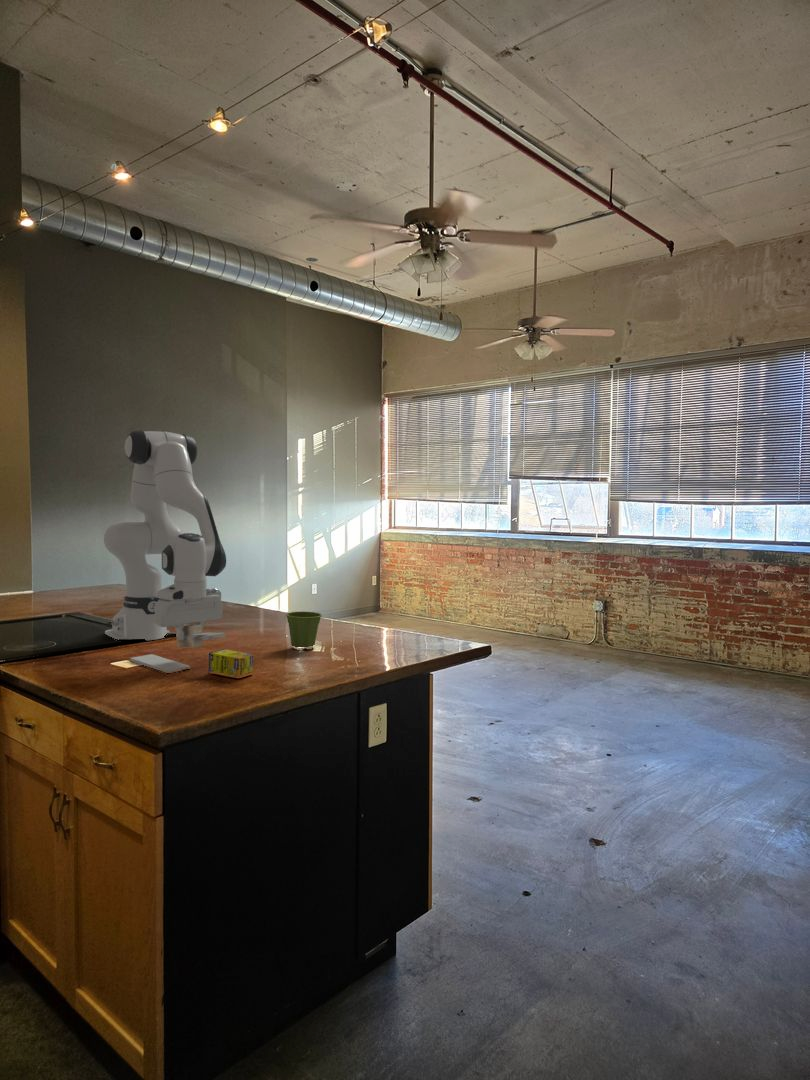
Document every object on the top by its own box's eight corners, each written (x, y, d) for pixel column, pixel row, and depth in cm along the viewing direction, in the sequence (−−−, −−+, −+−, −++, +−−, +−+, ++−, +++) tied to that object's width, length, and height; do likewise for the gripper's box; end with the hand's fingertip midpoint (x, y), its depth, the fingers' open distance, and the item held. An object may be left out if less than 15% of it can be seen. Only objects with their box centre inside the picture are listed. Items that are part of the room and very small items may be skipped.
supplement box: (208, 652, 188) (238, 658, 183) (223, 648, 193) (253, 653, 188) (207, 674, 188) (238, 680, 183) (223, 669, 194) (253, 675, 188)
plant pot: (318, 653, 217) (319, 617, 217) (281, 652, 218) (282, 616, 217) (324, 645, 229) (324, 611, 228) (288, 644, 229) (289, 610, 229)
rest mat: (129, 661, 200) (129, 657, 200) (152, 657, 205) (152, 654, 205) (167, 674, 187) (167, 670, 187) (190, 669, 193) (190, 666, 192)
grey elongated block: (174, 647, 198) (173, 626, 198) (189, 644, 202) (187, 624, 202) (211, 648, 188) (209, 626, 188) (226, 645, 192) (224, 624, 192)
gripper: (214, 586, 207) (214, 632, 208) (151, 592, 191) (151, 641, 192) (227, 588, 203) (226, 635, 204) (164, 595, 187) (163, 645, 188)
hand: (189, 638), depth 198 cm, fingers closed on grey elongated block, 3 cm apart
